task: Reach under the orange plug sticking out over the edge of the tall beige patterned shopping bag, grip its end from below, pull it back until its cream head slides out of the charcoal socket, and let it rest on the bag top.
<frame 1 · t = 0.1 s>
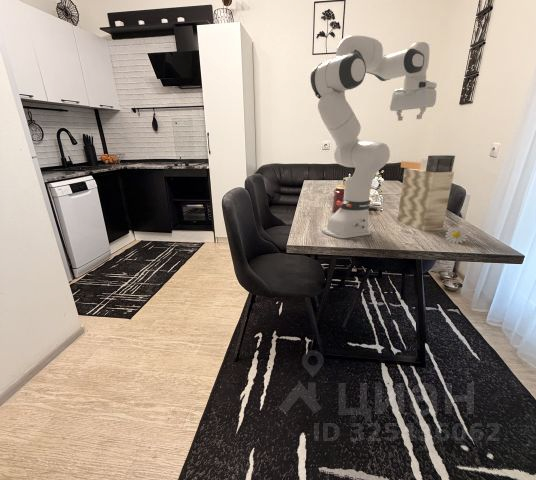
hand: (409, 119, 130), 48 cm above the table, tool pointing down, fingers open, 8 cm apart
decorative flower: (447, 239, 118), on the table
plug: (413, 168, 137), point 26 cm above the table, touching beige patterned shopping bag
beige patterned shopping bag: (418, 224, 137), on the table
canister: (343, 211, 164), on the table
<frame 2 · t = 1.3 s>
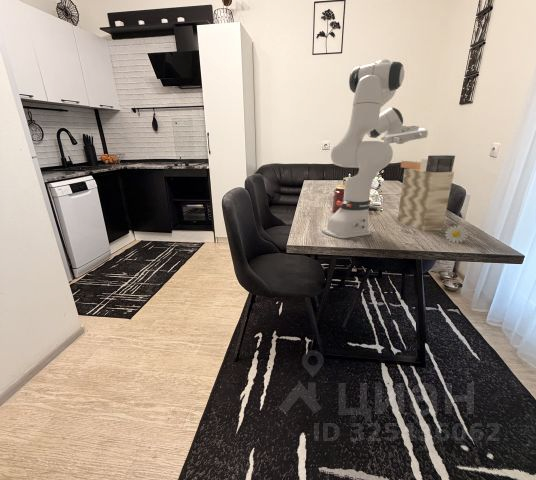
hand: (410, 138, 136), 40 cm above the table, tool horizontal, fingers open, 8 cm apart
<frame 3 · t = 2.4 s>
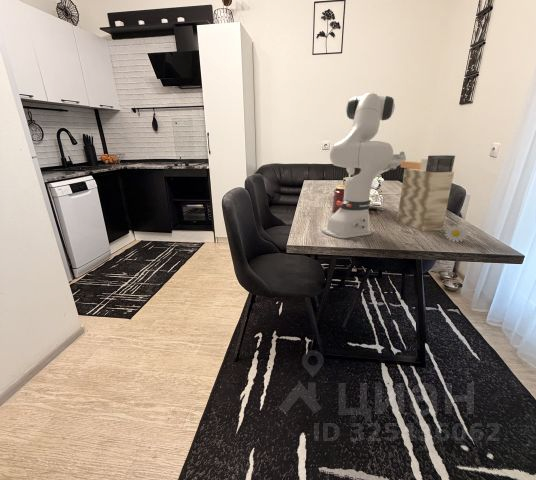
hand: (395, 153, 149), 33 cm above the table, tool pointing upward, fingers open, 8 cm apart
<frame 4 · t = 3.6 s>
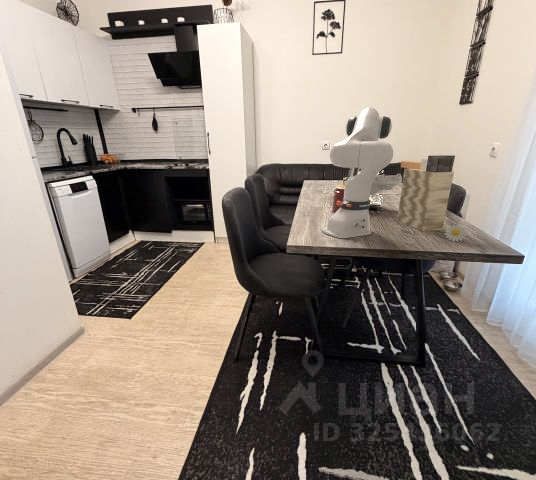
hand: (391, 175, 154), 21 cm above the table, tool pointing upward, fingers open, 8 cm apart
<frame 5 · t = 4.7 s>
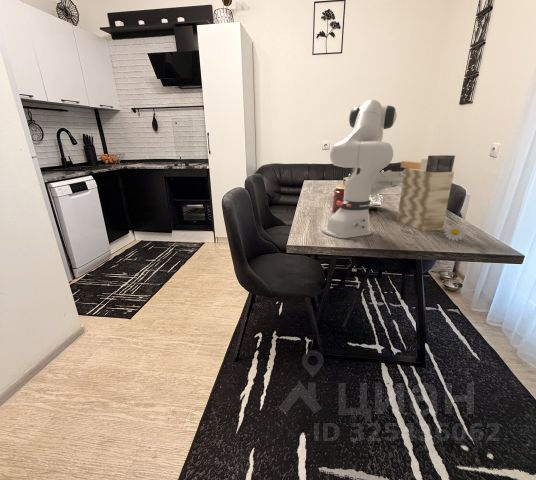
hand: (398, 171, 148), 24 cm above the table, tool pointing upward, fingers open, 8 cm apart
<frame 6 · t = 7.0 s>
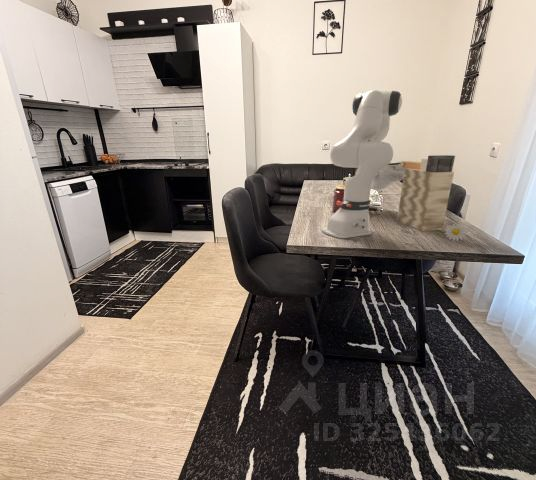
hand: (407, 163, 141), 28 cm above the table, tool pointing upward, fingers closed on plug, 3 cm apart
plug: (413, 168, 137), point 26 cm above the table, touching gripper, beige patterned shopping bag
when the fingers open (28 cm above the table, at t = 8.9 s): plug stays where it is, resting on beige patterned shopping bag.
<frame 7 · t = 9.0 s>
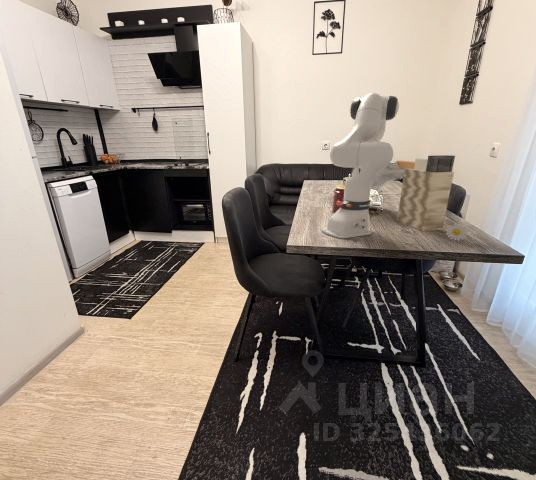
hand: (402, 163, 145), 28 cm above the table, tool pointing upward, fingers open, 4 cm apart
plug: (408, 167, 141), point 26 cm above the table, touching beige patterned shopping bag
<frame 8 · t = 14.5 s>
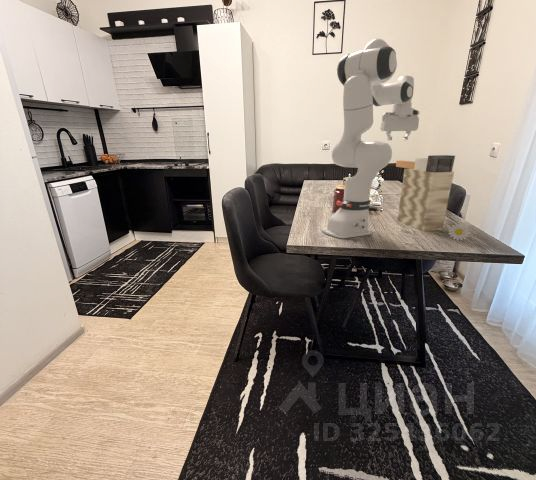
hand: (397, 140, 151), 39 cm above the table, tool pointing down, fingers open, 8 cm apart
at the end: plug 2.0 cm from the target spot, point 26.0 cm above the table; the gripper is holding nothing; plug tilted 0° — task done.
